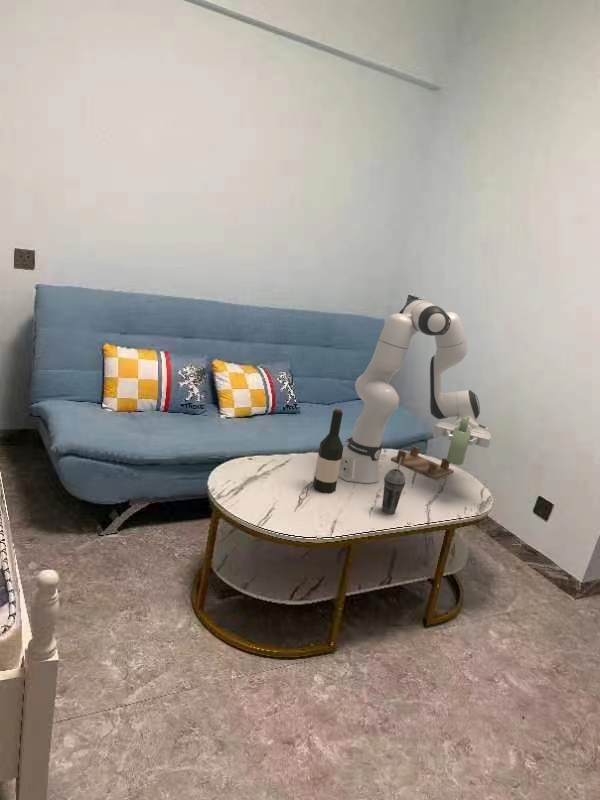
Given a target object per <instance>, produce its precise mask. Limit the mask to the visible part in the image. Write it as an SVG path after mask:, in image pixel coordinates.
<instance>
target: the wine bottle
mask: <svg viewBox="0 0 600 800" xmlns="http://www.w3.org/2000/svg"><path fill="white" fill-rule="evenodd" d="M342 419H343V410H342V409H340V408H335V409H334V410H333V411H332V416H331V421H330V427H329V433H328V434H327V435H325V437H324V438H323V440H322V441H320V443H319V448H318V455H317V459H316V466H315V473H314V477H313V483H312V487H313V489H314V491H316V492H319V493H322V494H332V493H334V492H336V489H337V485H338V479H339V476H338V474H339V469H340V464H341V458H342V453H343V447H344V445H343V444H342V441H341V438H340V436H339V435H340V429H341V424H342V421H343V420H342Z"/></svg>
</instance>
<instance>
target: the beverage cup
mask: <svg viewBox="0 0 600 800" xmlns="http://www.w3.org/2000/svg"><path fill="white" fill-rule="evenodd" d="M401 459H402V457H400V461H399V464H398V466H397V468H393V469H390V470H389V471H387V472H386V474H385V476H384V478H383V481H384V482H383V483H384V484H383V485H384V487H383V495H382V503H381V511H382V513H383V514H386V515H391V516H393V515H395V513H396V511H397V508H398V505H399V501H400V499H401V495H402V493H403V492H402V491H403V490H404V488H405V485H406V476H405V474H404V472H403V471H402V470H401V469H400V466H401V465H400V463H401Z"/></svg>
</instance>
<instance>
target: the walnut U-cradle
mask: <svg viewBox="0 0 600 800" xmlns="http://www.w3.org/2000/svg"><path fill="white" fill-rule="evenodd" d="M419 452H420V447H418V446H415V445H411V448H410V451H405V450H402V449H399V450H397V455H395V456H392V457H391V458H390V461H391V462H393V463H395V464H398V465H399V461H400V457H402V459H401V463H400V466H403V467H405V468H407V469H409V470H412V471H414V472H416V473H419V474H421V475H423V476H425V477H428V478H430V479H433V480H435V481H438V480H441V479H443V478H445V477H447V475H448V476H451V475H452V474H454V469H452V468H450V464H451V463H450V462H448V461H447V457H446V458H445V457H442V459H441V463H436V462H434V461H432V460H430V459H428V458H425V457H422V456H420V455H419ZM440 478H441V479H440Z"/></svg>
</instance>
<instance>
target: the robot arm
mask: <svg viewBox="0 0 600 800" xmlns="http://www.w3.org/2000/svg"><path fill="white" fill-rule="evenodd" d="M417 332H419V333H422V334H424V335H426V336H430V337H431V336H434V340H435V345H436V349H435V350H436V352H435V354H434V355H433V356H432V357H431V358H430V363H429V388H430V389H429V395H430V396H429V412H430V414H431V416H433V417H434V418H435V419H437V420H442V419H444V420H445V419H448V418H454V417H457V418H456V419H455V422H454V423H450V422H446V421H445V422H444V421H439V422H438V423H436V424H435V426H434V431H433V434H435V435H436V436H437V435H438V436H440V437H444V438H447V440H450V441H451V439H452V435H453V431H454V428H459V426H460V422H461V418H462V416H466V417H469V418H470V419H469V423H468V427H467V430H469V431H470V432H471V434H470V438H469V442H468V446H473V445H474V446H479V447H483V448H485V449H488V448H489V446H490V445H491V444H490V443H491V439H492V436H491V433H490V429H489V427H486V426H484V425H481V424H479V418H478V417H479V415H480V413H481V408H480V401H479V398H478V396H477V395H476V393H474V392H473V391H472V390H471V389H466V390H457V391H452V392H450V391H449V392H442V379H441V378H442V377H441V375H442V374H443V373H444V372H445V371H447V370H448V369H450V368H452V367H454V366H456V365H458V364H460V362H462V361H463V360H464V358H465V357H466V355H467V354H468V353H467V352H468V342H467V337H466V332H465V328H464V325H463V322H462V320H461V318H460V316H459V314H457V313H456V312H452V311H445V310H444V309H443V308H441V307H440V306H439V305H435V304H434V303H433V302H430V301H427V300H424V299H422V298H421V299H419V298H417V299H416V298H415V299H412V300H409V301H408V302H406V303H405V305H404V306H403V308H402V309H401V310H400V311H399V313H392V314H391V315H389V317H388V319H387V320H386V322H385V324H384V326H383V328H382V330H381V332H380V335H379V338H378V341H377V344H376V347H375V349H374V351H373V352H374V353H373V355H372V358H371V360H370V362H369V364H368V365H367V367H366V369H365V370H364V371H363V373H362V374H360V376H358V377H357V378H356V381H355V383H354V387H355V392H356V394H357V396H358V398H359V399H360V400H361V401H362V402H364V403H363V404H364V405H363V409H362V411H361V412H360V413H361V414H360V415H359V416H358V417H357V418H356V419H355V423H354V430H353V435H352V437H349V438H347V439H346V441H345V443H347V445H343V453H342V458H341V464H340V469H339V474H338V478H341V479H342V480H344V481H346V482H355V483H359V484H360V483H362V484H374V483H376V482H378V481H379V462H380V461H379V460H380V457H381V453H382V448H383V444H382V442H383V437H384V433H385V429H386V425H387V423H388V420H389V418H390V416H391V415H392V414H393V413H394V412H396V410H397V409H398V407H399V406H400V405H399V404H400V397H399V395H398V392H397V391H396V389H395V388H394V387H393V386H392V385H390V382H391V380H392V378H393V377H394V375H395V374H396V373H397V372H398V371H400V370H401V369H402V366H403V364H404V361H405V358H406V355H407V352H408V349H409V346H410V344H411V340H412V338H413V337H414V335H415V334H416V333H417Z"/></svg>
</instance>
